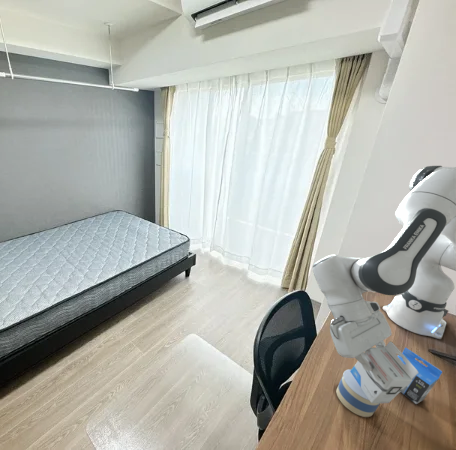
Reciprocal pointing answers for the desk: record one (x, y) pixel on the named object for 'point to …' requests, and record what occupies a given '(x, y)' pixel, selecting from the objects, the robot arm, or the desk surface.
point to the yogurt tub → (354, 396)
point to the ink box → (384, 373)
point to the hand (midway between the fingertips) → (377, 364)
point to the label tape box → (420, 377)
